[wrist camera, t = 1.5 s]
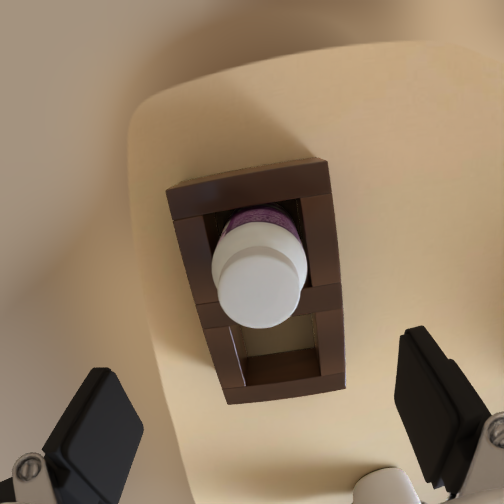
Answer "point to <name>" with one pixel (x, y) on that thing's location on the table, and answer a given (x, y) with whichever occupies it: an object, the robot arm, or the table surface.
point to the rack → (311, 296)
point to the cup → (385, 488)
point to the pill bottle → (259, 266)
